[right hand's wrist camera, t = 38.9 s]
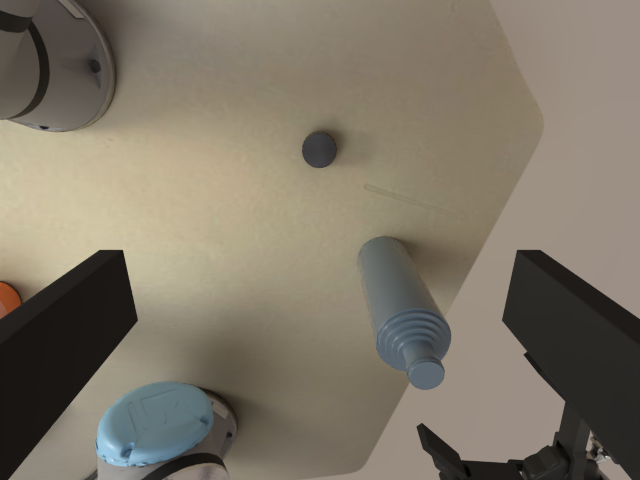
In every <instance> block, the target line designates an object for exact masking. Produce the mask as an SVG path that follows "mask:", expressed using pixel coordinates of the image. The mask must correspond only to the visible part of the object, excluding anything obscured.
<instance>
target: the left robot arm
mask: <svg viewBox="0 0 640 480" xmlns="http://www.w3.org/2000/svg"><path fill="white" fill-rule="evenodd" d="M524 356H525V357H526V358H527V360H528V361H529V362H530V363H531V365H532V366H533V367H534V369H535V370H536V371H537V372H538V374H539V375H540V376H541V377H542V378H543V379H544V380H545V381H546V382H547V383H548V384H549V385H550V386H551V387H552V388H553V389H554V390H555V391H556V392H557V393H558V394H559V395H560V396H561V397H562V398H563V399H564V400H565V401H566V402H565V406H564V411H563V415H562V420H561V425H560V429H559V432H555V436H554V441H553V445H552V446H548V445H547V446H546V447H544V448H542V449H541V450H540V451H539V452H538V453H536V454H533V455H531V456H529V457H527V458H525V459H524V460H512V459H510V460H508V462H507V463H497V462H481V461H464V460H461V459H460V456H459V454H458V453H457V452H456V451H455V450H453V449H452V448H451V447H450V446H449V445H448V444H446V443H445V442H444V441H443V440H442V439H440V438H439V437H438V436H437V435H436V434H434V433H433V432H432V431H431V430H430V429H428V428H427V427H426V426H425V425H424V424H422V423H421V424H420V425H418V426H417V430H418V433H419V437H420V440H421V443H422V447H423V449H424V450H425V451H426V452H428V453H429V454H430V455H431V456H432V458H433V461H434V464H435V467H436V468H437V469H438V470H440V471H441V472H440V473H439V477H440V480H610V479H609V478H608V477H607V476H606V475H605V474H604V473H603V472H602V471H601V470H600V469H599V468H598V464H600V463H602V462H604V461H606V460H610V459H612V461H613V462H614V463H615V464H619V463H618V462H617V461H616V460H615V458H614V457H613V456H612V455H611V453H610V452H609V451H608V450H607V449H606V447H605V446H604V445H603V444H602V442H601V441H600V440H599V439H598V438H597V436H596V435H595V434H594V433H593V431H592V430H591V429H590V428H589V426H588V425H587V424H586V423H585V422H584V420H583V419H582V418H581V417H580V415H579V414H578V413H577V412H576V411H575V409H574V408H573V407H572V406H571V404H570V403H569V402H568V401H567V399H566V398H565V397H564V396H563V395H562V393H561V392H560V391H559V390H558V388H557V387H556V386H555V385H554V384H553V382H552V381H551V380H550V379H549V377H548V376H547V375H546V374H545V372H544V371H543V370H542V369H541V368H540V366H539V365H538V364H537V363H536V361H535V360H534V359H533V358H532V357H531V355H530V354H529V353H528V352H526V353H525V354H524ZM237 427H238V422H237V418H236V415H235V413H234V411H233V409H232V408H231V406H230V405H229V404H228V403H227V402H226V401H225V400H223V399H222V398H221V397H219V396H217V395H216V394H214V393H211V392H209V391H206V390H203V389H199V388H197V387H195V386H193V385H190V384H187V383H185V384H183V383H178V382H171V381H168V382H157V383H152V384H148V385H145V386H142V387H139V388H136V389H134V390H132V391H130V392H128V393H127V394H125V395H123V396H122V397H121V398H119V399H118V400H117V401H116V402H115V404H114V405H113V406H111V407H110V408H109V409H108V410H107V411H106V412H105V414H104V415H103V417H102V419H101V421H100V424H99V427H98V435H97V438H96V441H95V449H96V453H97V468H98V470H97V471H95V472H94V473H93V474H92V475H91V476H90V477H88V478H87V479H86V480H94V479H95V478H96V477H97V476H98V480H230V478H229V474H228V471H227V469H226V467H225V465H224V463H223V459H224V458H225V456H226V455H227V453H228V452H229V450H230V449H231V447H232V445H233V443H234V440H235V437H236V433H237ZM590 430H591V432H592V434H593V437H591V438H590V440H591V441H592V449H591V450H590V451H589V452H588V451H587V450H586V446H587V442H588V438H589V434H590ZM519 471H521V472H522V476H521V474H520V472H519Z"/></svg>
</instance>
